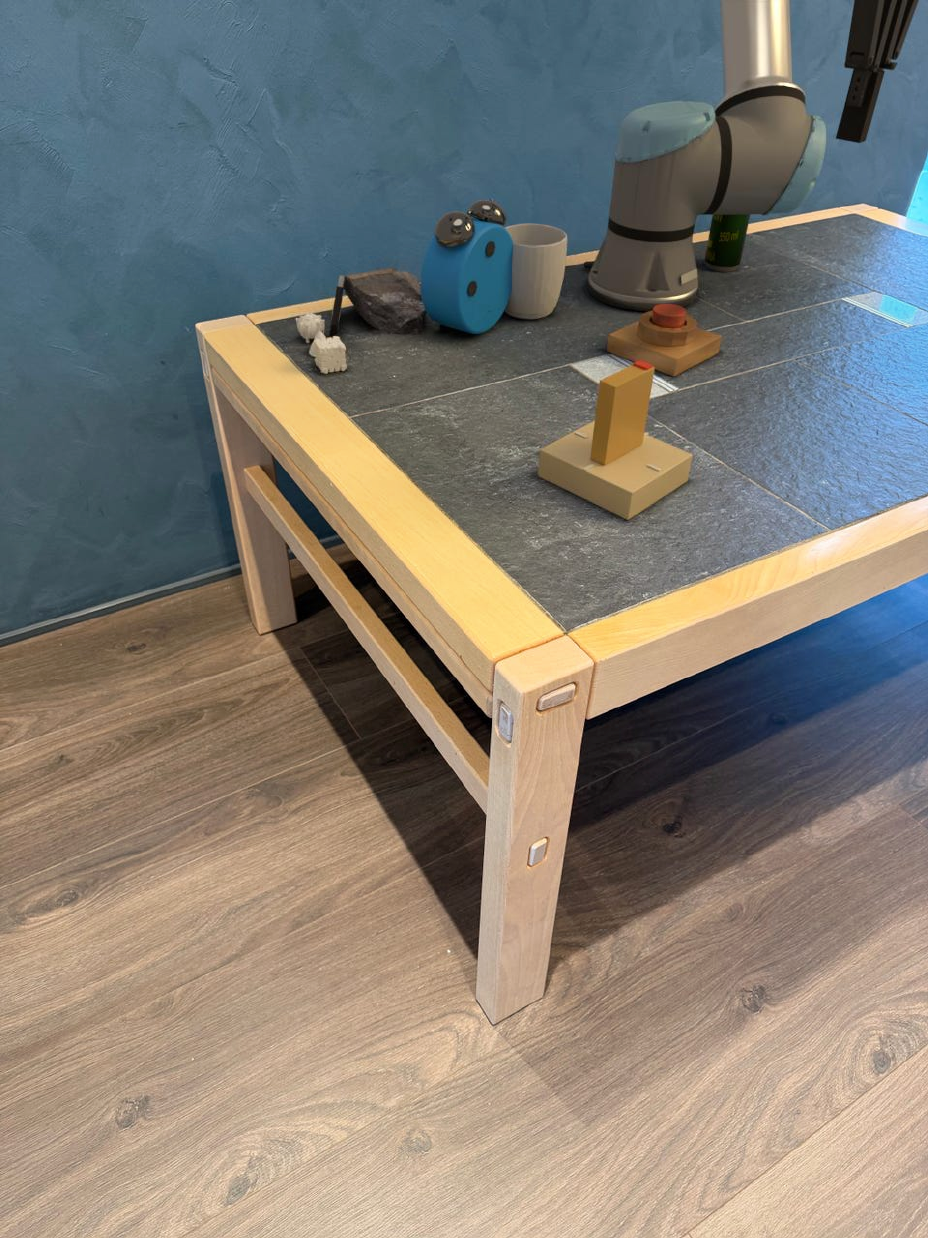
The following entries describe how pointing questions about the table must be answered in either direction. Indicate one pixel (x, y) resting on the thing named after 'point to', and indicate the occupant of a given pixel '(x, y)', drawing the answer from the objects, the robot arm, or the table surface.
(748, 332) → the table surface
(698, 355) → the button block
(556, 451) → the panel
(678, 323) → the button
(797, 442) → the table surface
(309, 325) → the game pieces
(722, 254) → the beer can
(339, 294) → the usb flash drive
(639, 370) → the lock knob
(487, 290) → the alarm clock
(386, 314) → the rock
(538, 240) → the mug
